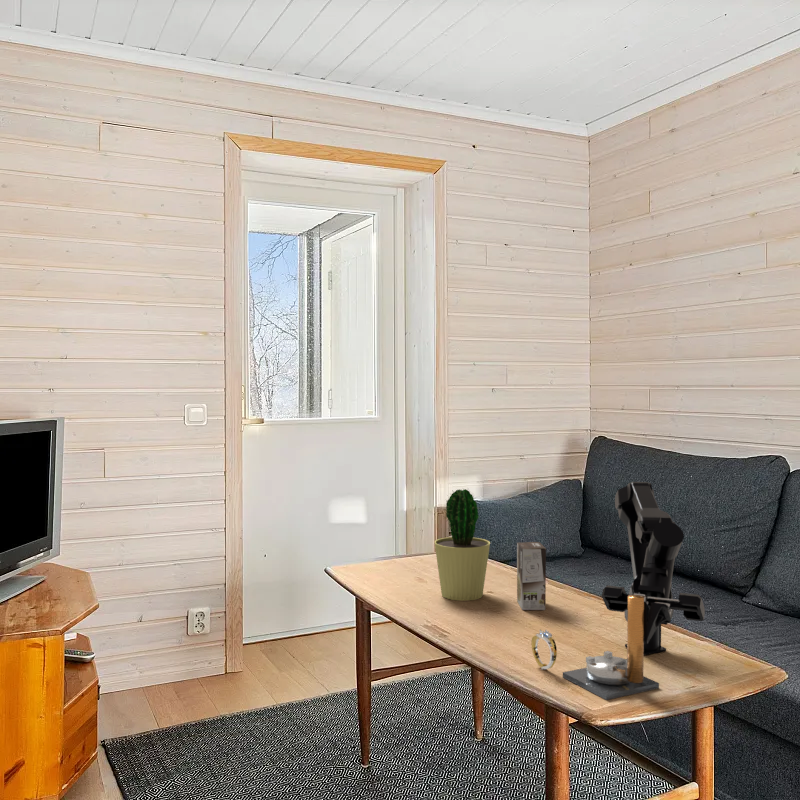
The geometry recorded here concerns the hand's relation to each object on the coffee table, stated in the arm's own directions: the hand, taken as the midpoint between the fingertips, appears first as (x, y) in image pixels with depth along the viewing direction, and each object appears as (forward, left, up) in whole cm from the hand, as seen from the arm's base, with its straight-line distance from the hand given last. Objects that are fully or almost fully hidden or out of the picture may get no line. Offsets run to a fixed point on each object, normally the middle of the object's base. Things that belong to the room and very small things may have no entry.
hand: (646, 642), depth 155 cm
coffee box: (-16, -59, -10) cm, 62 cm away
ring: (+10, -19, -10) cm, 24 cm away
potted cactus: (-5, -76, -10) cm, 77 cm away
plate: (+3, -7, -10) cm, 12 cm away
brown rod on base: (+2, -6, -8) cm, 10 cm away
